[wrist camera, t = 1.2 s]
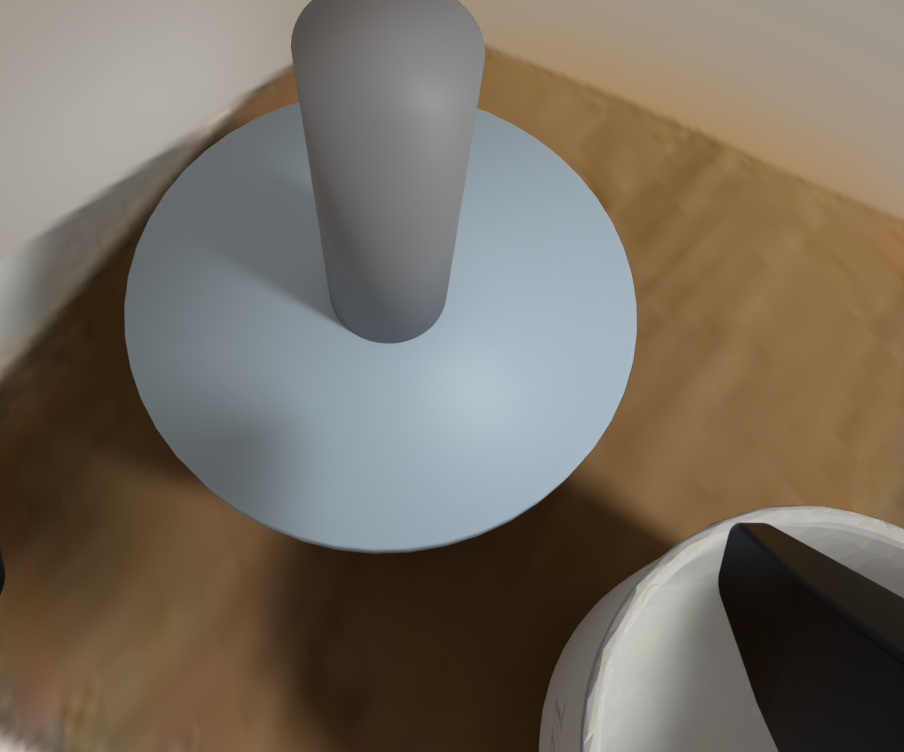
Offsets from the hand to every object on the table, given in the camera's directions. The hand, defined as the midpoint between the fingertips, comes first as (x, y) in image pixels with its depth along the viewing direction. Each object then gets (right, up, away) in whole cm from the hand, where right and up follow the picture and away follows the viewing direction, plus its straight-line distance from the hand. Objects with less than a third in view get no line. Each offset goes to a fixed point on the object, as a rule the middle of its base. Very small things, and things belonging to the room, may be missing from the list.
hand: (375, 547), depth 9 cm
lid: (-1, +4, +11) cm, 11 cm away
